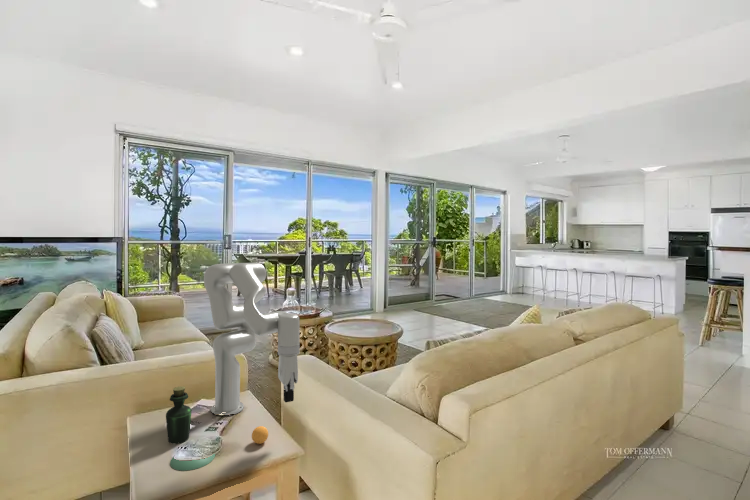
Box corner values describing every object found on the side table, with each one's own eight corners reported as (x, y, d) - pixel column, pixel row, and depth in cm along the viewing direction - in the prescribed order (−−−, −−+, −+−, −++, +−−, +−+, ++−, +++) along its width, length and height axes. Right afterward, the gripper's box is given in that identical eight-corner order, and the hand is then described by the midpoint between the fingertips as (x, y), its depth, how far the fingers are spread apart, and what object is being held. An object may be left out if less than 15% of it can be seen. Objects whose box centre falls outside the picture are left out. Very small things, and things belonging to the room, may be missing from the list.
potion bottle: (196, 438, 138) (196, 387, 137) (173, 448, 131) (174, 394, 130) (183, 431, 142) (183, 382, 142) (160, 440, 135) (161, 389, 135)
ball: (250, 440, 136) (250, 425, 136) (266, 437, 139) (266, 422, 139) (253, 448, 132) (253, 432, 131) (269, 444, 134) (269, 428, 134)
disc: (170, 453, 128) (170, 452, 128) (213, 444, 134) (213, 443, 134) (169, 474, 116) (169, 474, 116) (216, 464, 122) (216, 463, 122)
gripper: (273, 345, 144) (273, 395, 144) (283, 356, 130) (283, 411, 131) (293, 343, 147) (293, 392, 147) (305, 353, 134) (305, 406, 134)
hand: (288, 400), depth 139 cm, fingers closed
